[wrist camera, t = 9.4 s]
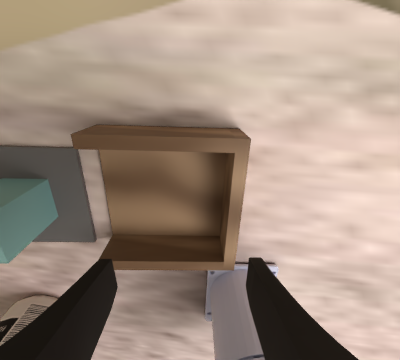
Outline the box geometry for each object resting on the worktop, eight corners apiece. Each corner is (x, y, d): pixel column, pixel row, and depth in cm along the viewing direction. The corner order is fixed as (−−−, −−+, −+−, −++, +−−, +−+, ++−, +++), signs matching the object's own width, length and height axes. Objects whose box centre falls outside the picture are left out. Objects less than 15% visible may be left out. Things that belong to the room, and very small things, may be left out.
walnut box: (227, 241, 23) (233, 270, 19) (115, 239, 22) (99, 269, 19) (239, 128, 18) (250, 139, 14) (96, 124, 17) (70, 134, 14)
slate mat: (96, 239, 22) (94, 242, 22) (-1, 238, 22) (-4, 241, 22) (77, 147, 18) (74, 148, 18) (-42, 144, 18) (-47, 145, 18)
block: (58, 216, 20) (8, 263, 15) (16, 216, 20) (-50, 263, 15) (47, 179, 19) (-13, 216, 13) (2, 178, 19) (-78, 215, 13)
